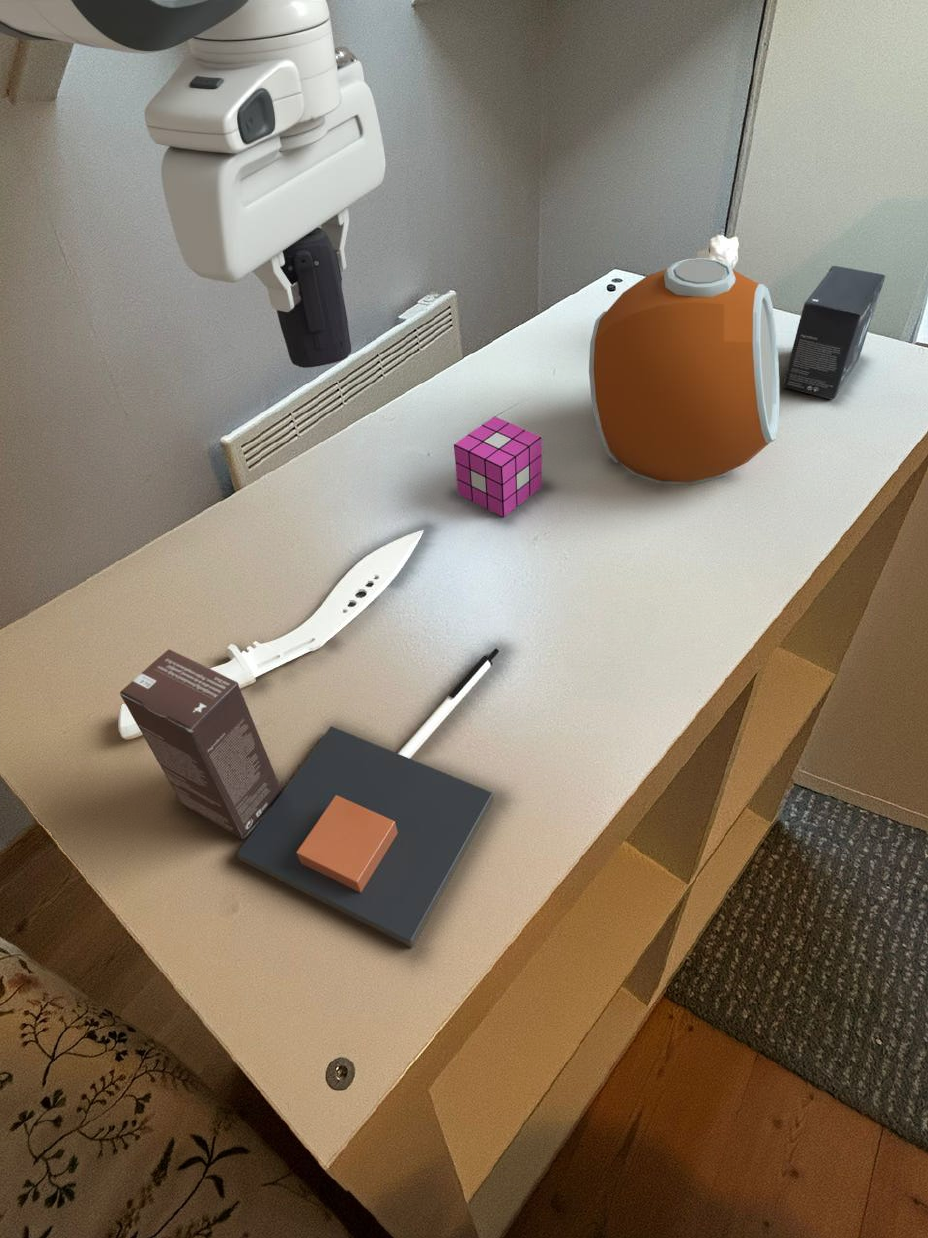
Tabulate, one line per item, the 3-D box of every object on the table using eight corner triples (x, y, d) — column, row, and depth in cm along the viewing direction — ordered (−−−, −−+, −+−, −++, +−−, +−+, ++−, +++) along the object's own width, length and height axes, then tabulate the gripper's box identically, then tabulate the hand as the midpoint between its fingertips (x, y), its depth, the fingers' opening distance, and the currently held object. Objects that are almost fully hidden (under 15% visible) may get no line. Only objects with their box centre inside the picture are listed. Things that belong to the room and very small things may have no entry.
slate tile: (239, 860, 53) (235, 853, 53) (333, 733, 60) (330, 725, 59) (412, 949, 49) (410, 942, 48) (494, 800, 55) (493, 792, 54)
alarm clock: (761, 521, 72) (809, 338, 60) (566, 492, 77) (572, 316, 64) (777, 403, 84) (820, 230, 72) (608, 384, 89) (620, 218, 76)
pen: (501, 656, 64) (501, 647, 63) (338, 843, 54) (335, 835, 53) (492, 651, 64) (491, 642, 63) (328, 836, 54) (325, 828, 53)
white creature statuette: (668, 317, 98) (680, 212, 89) (742, 326, 95) (763, 219, 87) (649, 357, 92) (661, 249, 83) (728, 368, 89) (748, 258, 81)
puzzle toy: (542, 487, 78) (542, 436, 73) (503, 518, 75) (501, 467, 71) (496, 465, 80) (494, 415, 76) (457, 494, 78) (452, 444, 74)
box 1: (287, 790, 57) (240, 680, 48) (243, 842, 54) (186, 737, 45) (223, 754, 59) (167, 644, 50) (178, 803, 57) (111, 696, 48)
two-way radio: (351, 342, 69) (315, 145, 58) (361, 368, 66) (326, 167, 55) (286, 355, 68) (237, 159, 57) (293, 383, 65) (243, 182, 54)
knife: (421, 520, 74) (469, 567, 69) (423, 535, 75) (470, 581, 70) (89, 667, 63) (119, 734, 58) (97, 681, 64) (127, 748, 60)
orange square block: (301, 863, 52) (295, 852, 51) (339, 806, 54) (335, 794, 53) (360, 893, 50) (356, 882, 49) (398, 833, 53) (395, 821, 52)
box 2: (835, 402, 84) (861, 313, 77) (780, 389, 86) (801, 301, 79) (860, 359, 89) (887, 272, 82) (808, 348, 91) (830, 262, 84)
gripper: (319, 36, 60) (349, 232, 70) (122, 121, 48) (192, 343, 58) (393, 41, 58) (413, 242, 68) (207, 131, 46) (264, 359, 56)
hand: (310, 289), depth 63 cm, fingers closed on two-way radio, 5 cm apart
